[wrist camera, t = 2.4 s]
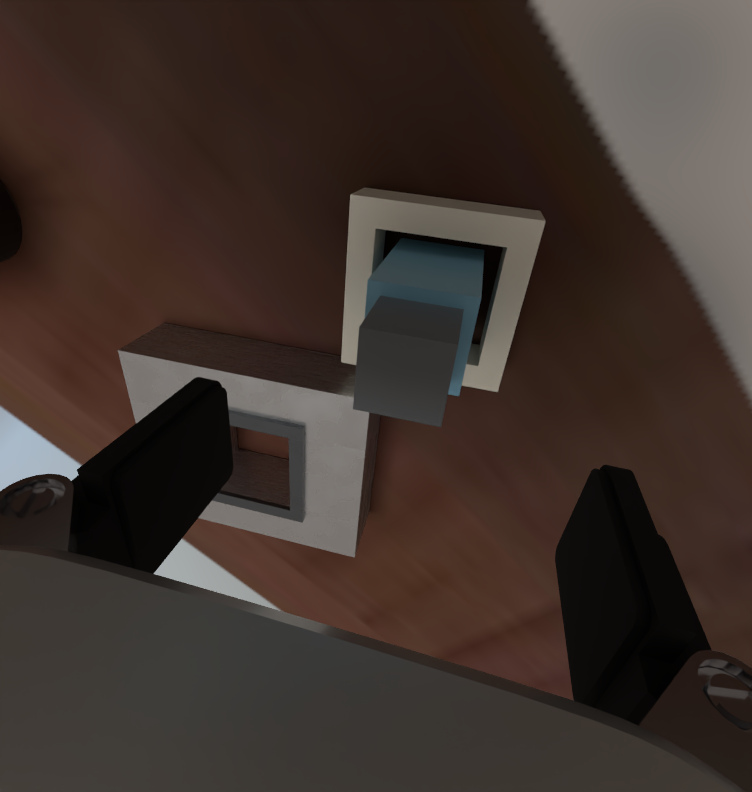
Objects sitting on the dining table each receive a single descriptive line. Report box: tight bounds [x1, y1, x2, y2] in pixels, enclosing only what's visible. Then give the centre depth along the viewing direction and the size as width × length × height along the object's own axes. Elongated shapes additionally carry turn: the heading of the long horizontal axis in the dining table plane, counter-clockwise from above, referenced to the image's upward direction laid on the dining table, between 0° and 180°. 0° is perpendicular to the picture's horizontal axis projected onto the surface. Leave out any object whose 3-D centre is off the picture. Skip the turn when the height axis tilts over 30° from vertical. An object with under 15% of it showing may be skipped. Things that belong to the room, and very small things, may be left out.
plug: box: [353, 238, 484, 427], centre depth 18 cm, size 4×4×10 cm
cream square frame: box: [341, 188, 546, 392], centre depth 21 cm, size 8×8×2 cm
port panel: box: [118, 323, 381, 557], centre depth 28 cm, size 12×14×4 cm
